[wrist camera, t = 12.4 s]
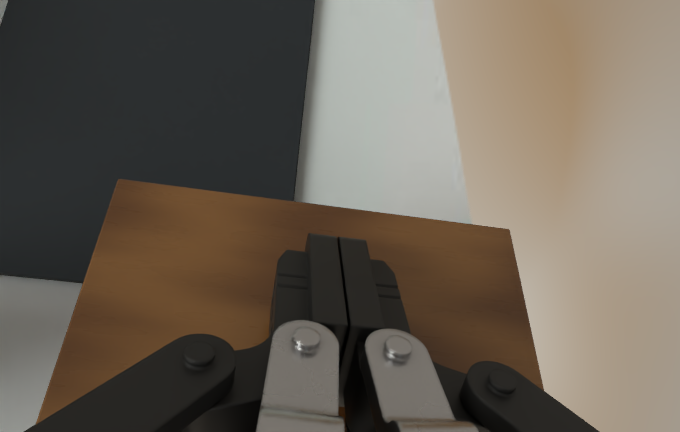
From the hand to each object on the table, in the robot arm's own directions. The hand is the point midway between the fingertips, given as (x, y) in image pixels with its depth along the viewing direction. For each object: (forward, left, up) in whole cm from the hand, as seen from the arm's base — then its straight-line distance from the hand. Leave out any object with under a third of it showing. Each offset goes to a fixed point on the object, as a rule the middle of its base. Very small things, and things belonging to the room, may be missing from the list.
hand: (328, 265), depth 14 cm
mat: (+9, -12, -17) cm, 23 cm away
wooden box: (0, +6, -4) cm, 7 cm away
